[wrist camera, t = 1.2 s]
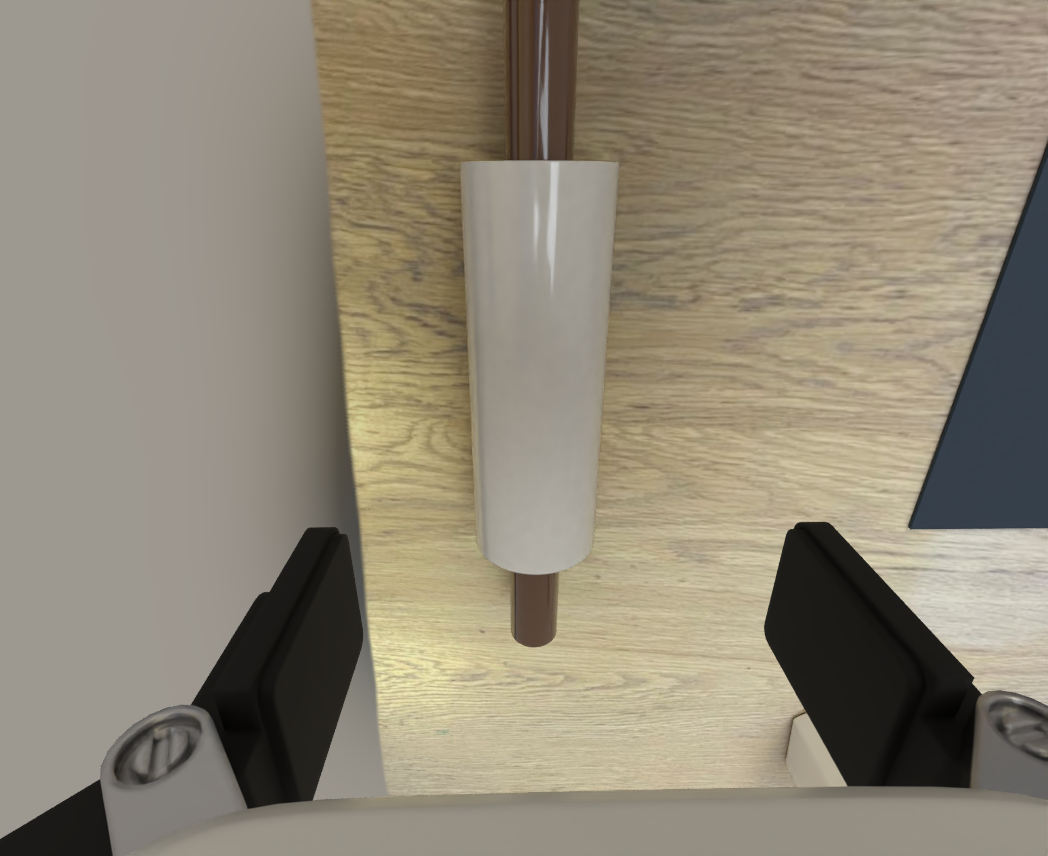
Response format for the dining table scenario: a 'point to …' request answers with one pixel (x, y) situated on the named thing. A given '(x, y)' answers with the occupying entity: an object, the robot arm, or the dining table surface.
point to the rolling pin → (537, 319)
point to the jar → (810, 757)
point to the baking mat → (1001, 400)
